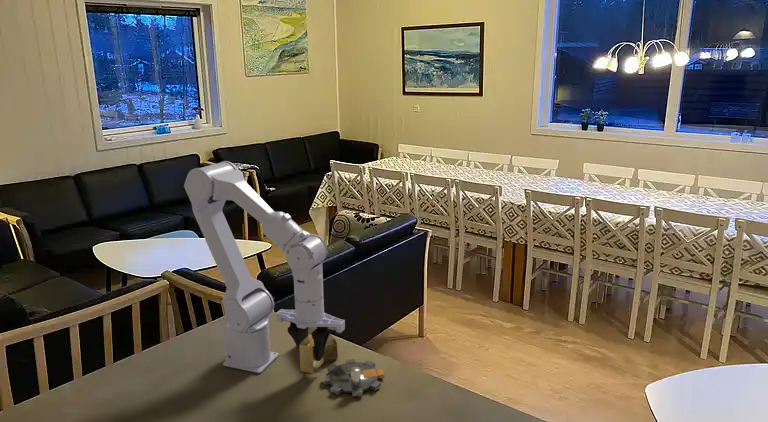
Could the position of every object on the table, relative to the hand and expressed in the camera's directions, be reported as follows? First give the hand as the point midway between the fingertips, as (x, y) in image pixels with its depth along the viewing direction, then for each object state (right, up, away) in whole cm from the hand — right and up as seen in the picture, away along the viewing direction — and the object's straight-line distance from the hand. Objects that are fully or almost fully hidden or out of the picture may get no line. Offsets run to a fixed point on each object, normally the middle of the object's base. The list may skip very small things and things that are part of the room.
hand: (311, 356), depth 112 cm
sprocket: (+9, -5, 0) cm, 10 cm away
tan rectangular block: (0, -2, +1) cm, 2 cm away
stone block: (0, -2, +11) cm, 11 cm away
